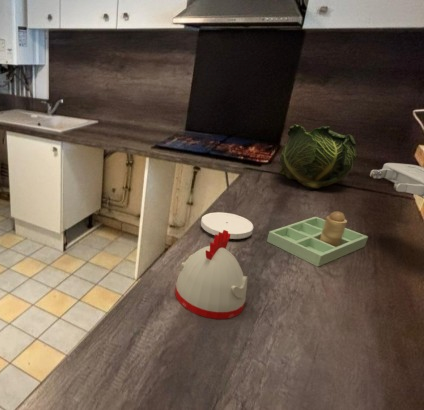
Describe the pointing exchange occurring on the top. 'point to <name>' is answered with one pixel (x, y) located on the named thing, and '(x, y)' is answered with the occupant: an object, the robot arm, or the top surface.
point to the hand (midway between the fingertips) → (383, 180)
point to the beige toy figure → (333, 228)
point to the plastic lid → (227, 225)
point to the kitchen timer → (212, 281)
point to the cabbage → (317, 156)
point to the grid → (314, 241)
